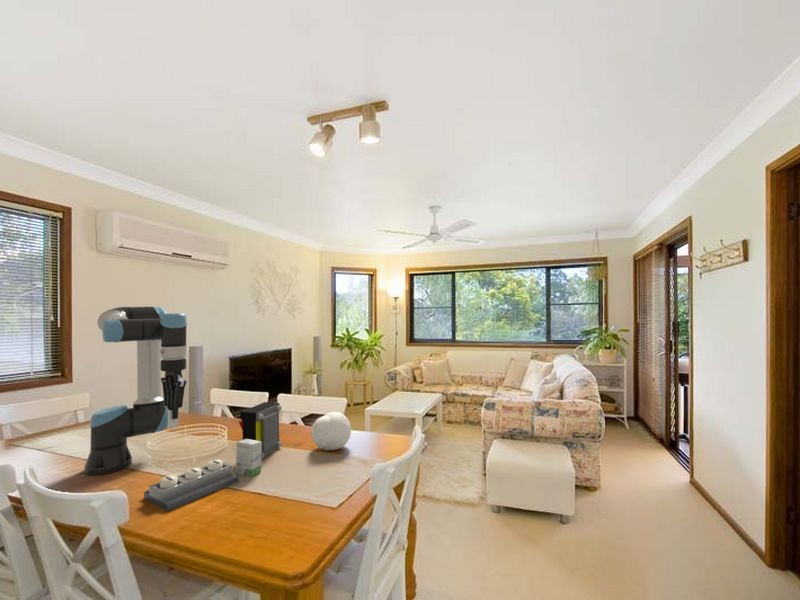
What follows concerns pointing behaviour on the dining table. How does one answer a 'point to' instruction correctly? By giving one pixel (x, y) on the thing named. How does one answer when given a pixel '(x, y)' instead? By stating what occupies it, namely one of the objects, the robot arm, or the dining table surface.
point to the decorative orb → (331, 431)
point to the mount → (191, 488)
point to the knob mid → (192, 473)
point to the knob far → (215, 465)
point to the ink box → (248, 457)
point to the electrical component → (262, 425)
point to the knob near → (168, 482)
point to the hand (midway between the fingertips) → (173, 427)
